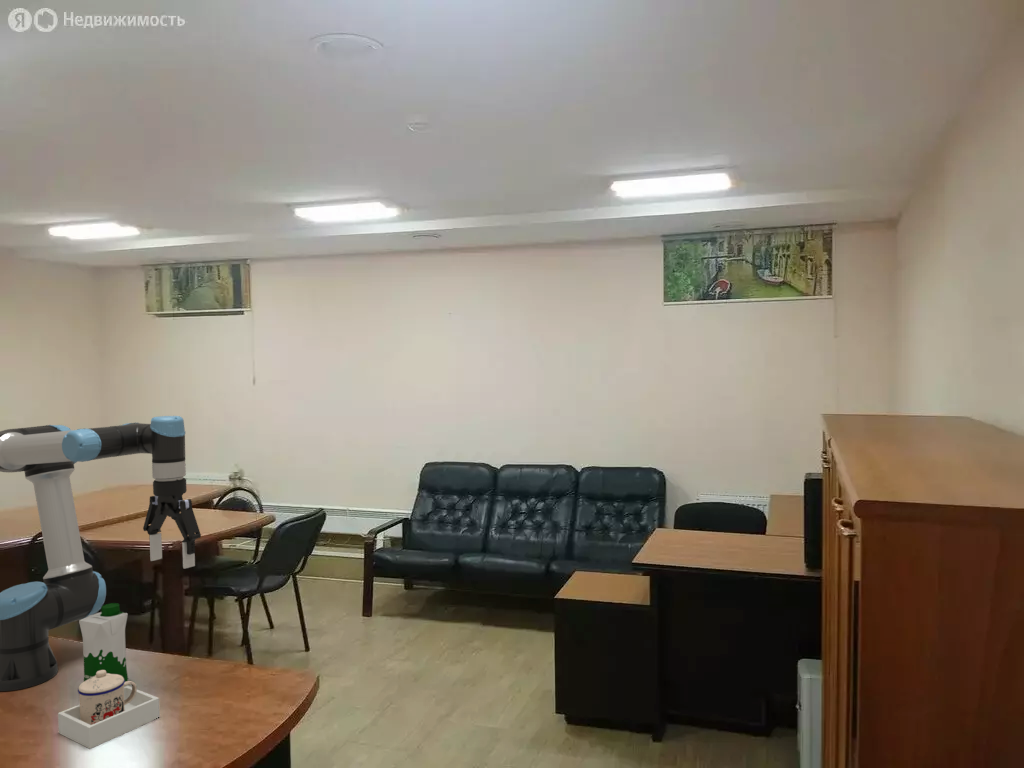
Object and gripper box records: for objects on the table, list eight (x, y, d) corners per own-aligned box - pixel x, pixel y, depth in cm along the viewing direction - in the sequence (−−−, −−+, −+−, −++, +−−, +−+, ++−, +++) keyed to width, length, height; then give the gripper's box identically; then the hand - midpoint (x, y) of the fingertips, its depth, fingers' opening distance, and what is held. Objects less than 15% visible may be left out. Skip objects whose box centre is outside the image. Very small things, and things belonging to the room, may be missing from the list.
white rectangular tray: (58, 733, 161) (58, 713, 161) (128, 704, 174) (127, 685, 174) (89, 748, 155) (89, 727, 154) (159, 717, 168) (159, 698, 168)
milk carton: (134, 682, 186) (131, 604, 185) (102, 698, 178) (99, 616, 177) (109, 677, 190) (106, 600, 189) (76, 692, 181) (73, 612, 180)
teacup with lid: (90, 737, 157) (88, 683, 157) (71, 725, 163) (69, 673, 162) (146, 715, 167) (144, 664, 166) (127, 704, 172) (125, 655, 172)
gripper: (214, 480, 179) (217, 566, 180) (154, 472, 193) (157, 553, 193) (186, 484, 173) (189, 574, 174) (126, 476, 186) (129, 560, 187)
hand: (172, 563), depth 184 cm, fingers open, 13 cm apart
